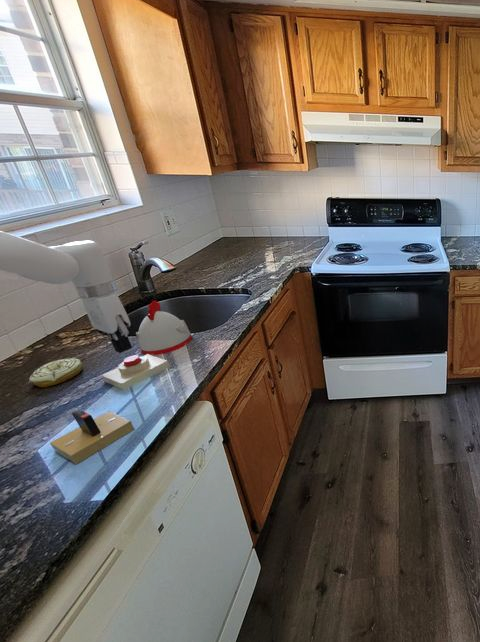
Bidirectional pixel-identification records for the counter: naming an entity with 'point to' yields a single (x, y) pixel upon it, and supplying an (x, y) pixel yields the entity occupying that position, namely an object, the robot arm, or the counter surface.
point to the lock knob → (86, 422)
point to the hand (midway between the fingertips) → (124, 349)
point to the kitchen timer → (162, 332)
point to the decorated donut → (56, 372)
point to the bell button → (132, 360)
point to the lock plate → (84, 445)
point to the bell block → (135, 372)
